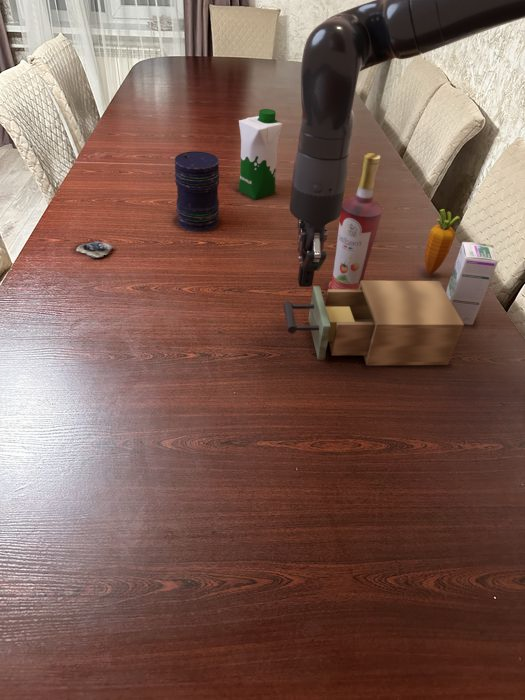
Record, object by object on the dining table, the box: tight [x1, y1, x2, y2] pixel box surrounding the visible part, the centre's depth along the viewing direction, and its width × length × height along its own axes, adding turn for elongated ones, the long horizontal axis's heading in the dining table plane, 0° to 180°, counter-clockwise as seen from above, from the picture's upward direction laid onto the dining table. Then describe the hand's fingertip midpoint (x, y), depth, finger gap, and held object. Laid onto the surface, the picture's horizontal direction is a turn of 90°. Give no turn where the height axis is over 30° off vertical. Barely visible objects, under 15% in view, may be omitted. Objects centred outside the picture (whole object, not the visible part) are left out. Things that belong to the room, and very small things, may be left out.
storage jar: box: [174, 150, 220, 232], centre depth 119 cm, size 10×10×15 cm
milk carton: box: [237, 108, 283, 201], centre depth 132 cm, size 9×9×20 cm
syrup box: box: [445, 241, 499, 326], centre depth 97 cm, size 6×6×14 cm
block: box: [326, 307, 355, 342], centre depth 91 cm, size 4×4×4 cm
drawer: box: [283, 285, 375, 360], centre depth 91 cm, size 19×11×7 cm, turn 94°
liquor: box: [328, 152, 383, 290], centre depth 96 cm, size 7×7×28 cm
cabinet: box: [359, 279, 465, 366], centre depth 92 cm, size 15×13×9 cm
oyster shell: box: [75, 240, 114, 259], centre depth 111 cm, size 7×8×2 cm
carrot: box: [424, 208, 461, 276], centre depth 108 cm, size 5×5×15 cm
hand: (304, 284), depth 85 cm, fingers closed
